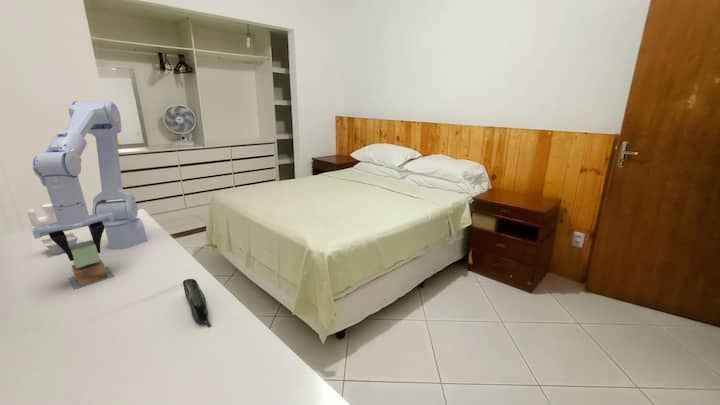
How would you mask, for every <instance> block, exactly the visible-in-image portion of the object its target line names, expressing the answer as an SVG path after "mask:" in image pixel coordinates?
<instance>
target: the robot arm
mask: <svg viewBox="0 0 720 405" xmlns="http://www.w3.org/2000/svg"><path fill="white" fill-rule="evenodd" d="M68 114H69V117H70V120H69V122H68V125H67V127H66V129H65V130H59V131H58V132H57V133H56V134H55V136H54V138H53V139H52V141H51V142H50V144H49V146H48V147H47V148H46V150H45V152H39V153H38V154H36V155H35V156H34V157H33V159H32V167H31V168H32V171H33V172H34V174H35V176H37V177H38V178H39V180H40V182H41V185H42V186H43V187H45V188H46V190H47V194H48V197H49V199H50V203H52V206H53V209H54V212H55V215H56V218H57V221H58V222H55V223H52V224H48V225H45V226H41V227H33V228H31V232H32V235H33V238H34V239H35V240H36V239H40V238H42V237H44V236H45V237H46V236H49V238H51V239H52V240H53V241H54V242H55V243H56V244H58V245H59V246H60V247H61V248H62V249H63V250H64V252H63V253H65V254H66V255H67V257H68V259H69V261H70V262H73V260H74V259H73V255H72V253H71V251H70V248H69V245H68V242H67V238H66V236H65V232H68V231H71V230H75V229H80V228H81V229H82V228H85V227H88V230H89V232H90V236H91V238H92V239H91V240H92V241H93V242H94V243H95V245H96V248H97V251H98V254H100V253H101V242H102V236H103V233H104V231H105V234H106V238H107V242H108V246H109V249H110V250H114V251H115V250H125V249H128V248H131V247H132V248H133V247H134V246H136V245H141V244H143V243H147V242H148V236H147V233H146V229H145V225H144V222H143V220H142V219H141V217H138V214H139V213H138V212H139V208H138V205H137V201H136V197H135V195H134V194H133V193H130V192H128V191H126V190H125V189H123V182H122V172H121V164H120V156H119V155H120V154H119V147H118V136H117V135H118V134H120V133H121V132H122V120H121V112H120V111H119V108H118V106H117V105H116V104H115V103H114V102H113V101H111V100H107V101H73V100H72V101H71V102H70V103H69V105H68ZM87 134H89V135H92V136H94V138H95V143H96V144H95V145H96V152H97V160H98V162H97V163H98V169H99V176H100V177H99V178H100V184H101V186H100V187H101V191H100V192H99V193H98V194H97V195H95V196H94V197H93V199H92V208H91V214H92V215H91V214H90V213H89V209H88V206H87V202H86V200H85V197H84V192H83V190H82V186H81V182H80V179H79V175H80V173H81V171H82V157H81V156H82V154H83V152H84V151H85V148H87V140H86V138H85V137H86V135H87ZM111 200H112V201H111Z"/></svg>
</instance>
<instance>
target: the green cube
mask: <svg viewBox="0 0 720 405" xmlns="http://www.w3.org/2000/svg"><path fill="white" fill-rule="evenodd" d="M69 248H70V251H71V253H72V255H73V259H74V260H72V262H73V265H75V266H76V267H77V268H79V267H83V266H86V265H89V264H93V263H96V262H100V259H101V258H100V255H99V253H98V251H97V248H96V245H95V243H94V242H93V239H89V240H86V241H82V242H79V243H77V242H76V244H73V245H69Z"/></svg>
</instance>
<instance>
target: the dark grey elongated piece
mask: <svg viewBox="0 0 720 405" xmlns="http://www.w3.org/2000/svg"><path fill="white" fill-rule="evenodd" d="M182 285H183V289H184V295H185V296H184V297H185V299H186V300H187V302H188V304H189V306H190V311H191V315H192V318H193V319H194V320H195V321H196V322H197V323H203V322H204V323H206V326H208V327H211V326H212V323H211V322H210V321H209V311H208V306H207V300H206V297H205V294H204V292H203V290H202V288H201V287H200V285H199V284H198V282H197V280H196V279H193V278H187V279H185V280H183V282H182Z"/></svg>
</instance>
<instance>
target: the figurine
mask: <svg viewBox="0 0 720 405" xmlns="http://www.w3.org/2000/svg"><path fill="white" fill-rule="evenodd" d="M41 208H42V209H43V210H42V211H43V212H44V214H45V215H44V216H40V217H38V215H37V212H36V211H35V209H33V208H32V209H31V208H30V209H27V211H26V212H27V216H28V218H29V221H30V224H31V226H33V228H37V227H41V226H45V225H48V224H52V223H55V222H58V221H57V218H56V215H55V212H54V209H53V206H52V203H51V202H50V203H49V202H48V203H43V205H41ZM65 236H66V238H67V242H68V245H73V244H77V241H78V239H79V238H78V237H77V236H76V235H75V234H74V233H73V232H69V233H66V234H65ZM41 242H42V244H44V246H45V247H46V248H47V249H48V250H50V251H51V252H52V254H54V255H58V254H62V253H65V252H64V250H63V249H62V248H61V247H60V246H59V245H58V244H56V243H55V242H54V241H53V240H52V239H51V238H50V237H49V238H44V239H42V240H41Z"/></svg>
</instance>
